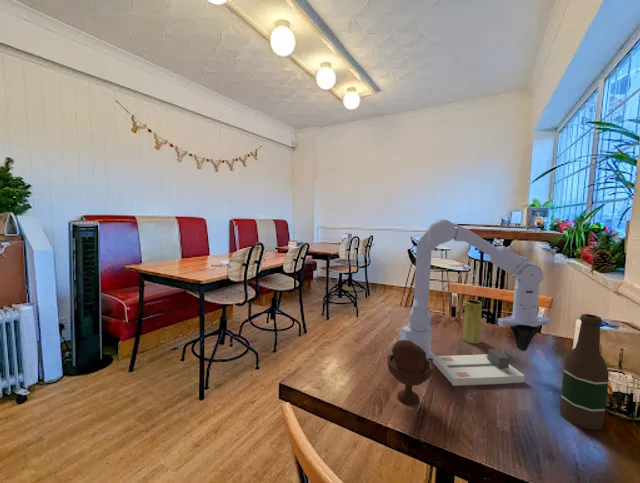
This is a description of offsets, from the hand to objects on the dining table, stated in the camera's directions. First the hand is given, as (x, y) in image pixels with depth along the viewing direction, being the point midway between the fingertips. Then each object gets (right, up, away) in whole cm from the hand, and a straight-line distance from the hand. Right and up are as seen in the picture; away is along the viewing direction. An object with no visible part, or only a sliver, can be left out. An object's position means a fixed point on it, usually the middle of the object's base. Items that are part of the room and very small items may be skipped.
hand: (521, 349), depth 86 cm
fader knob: (-7, -4, 0) cm, 8 cm away
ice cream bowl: (-37, -8, -12) cm, 39 cm away
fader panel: (-14, -6, 0) cm, 15 cm away
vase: (-4, -4, +20) cm, 21 cm away
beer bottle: (0, -9, -19) cm, 21 cm away
